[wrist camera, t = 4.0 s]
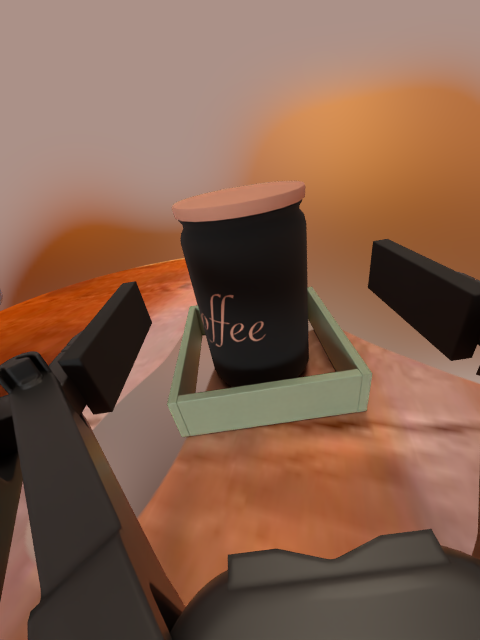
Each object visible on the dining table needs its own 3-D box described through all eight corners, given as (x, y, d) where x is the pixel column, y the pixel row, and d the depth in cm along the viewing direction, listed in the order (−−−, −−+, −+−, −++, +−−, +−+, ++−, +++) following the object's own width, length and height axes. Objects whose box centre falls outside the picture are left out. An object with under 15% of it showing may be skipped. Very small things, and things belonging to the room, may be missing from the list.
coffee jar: (199, 363, 32) (151, 205, 22) (265, 326, 36) (248, 182, 27) (254, 418, 24) (215, 211, 15) (329, 361, 29) (336, 177, 19)
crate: (181, 437, 23) (166, 404, 21) (197, 333, 38) (189, 306, 35) (366, 411, 23) (372, 373, 21) (312, 315, 37) (312, 286, 35)
